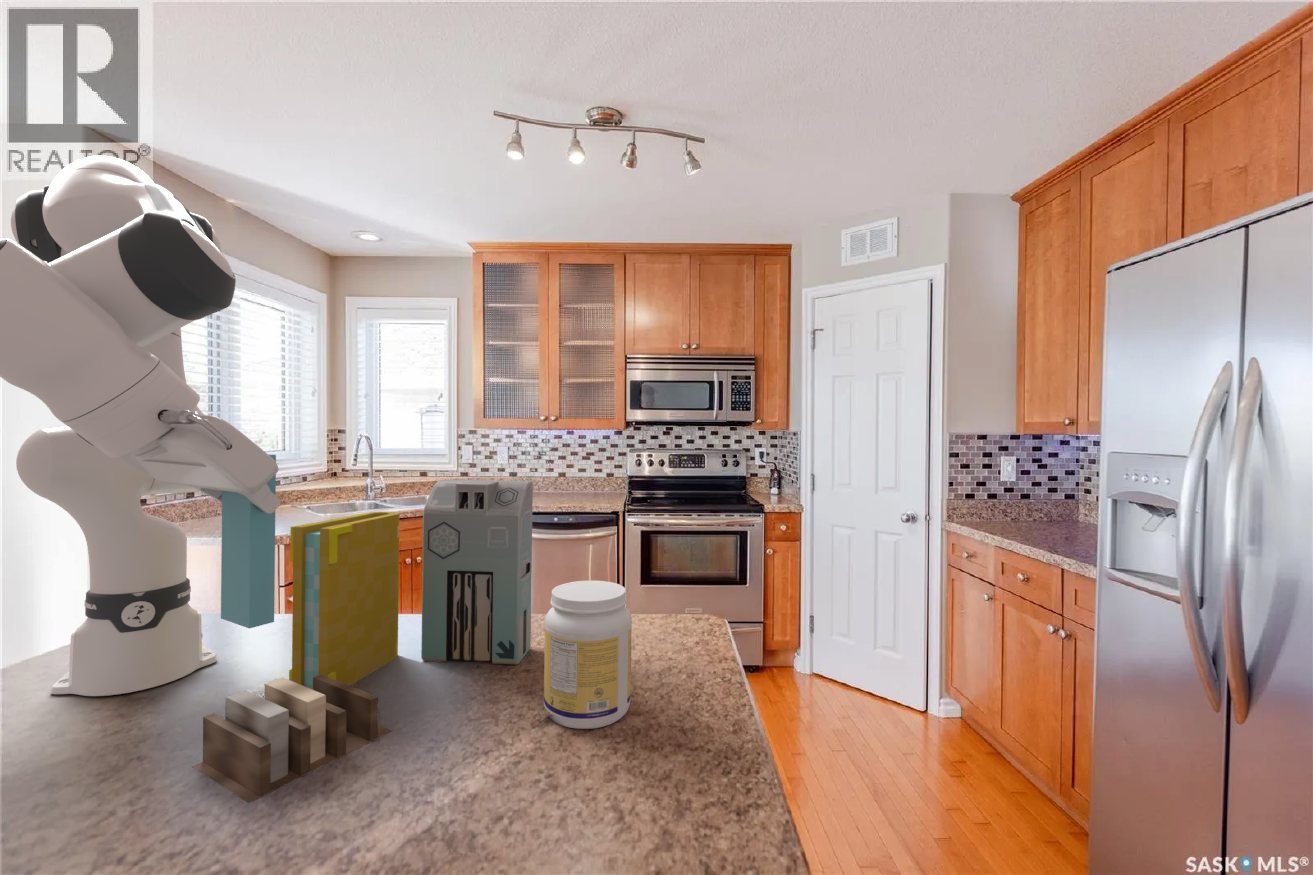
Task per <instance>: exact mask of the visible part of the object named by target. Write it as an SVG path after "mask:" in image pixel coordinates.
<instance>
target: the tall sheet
mask: <svg viewBox="0 0 1313 875" xmlns="http://www.w3.org/2000/svg"><path fill="white" fill-rule="evenodd" d="M267 454H268V455H269V456H270V457H272V458H273V459H274V461H275V462H276V463H277V454H273V453H272V454H271V453H267ZM276 477H277V473H276V474H275V475H274V476H273V477H272V478H271V479H270V480H269V481H268V482H267V485H268V487H269V488H270V490H271V492H272V493H273V494H274V495H276V489H277V488H276V486H277V485H276V484H277V478H276ZM276 496H277V495H276ZM250 503H251V501H250V500H249V499H248V498H247V497H246V496H245V495H241V494H240V493H238V492H230V491H222V504H221V552H220V556H221V565H220V566H221V569H220V570H221V571H220V572H221V573H220V574H221V575H220V578H221V579H220V584H221V585H220V619H221V620H225V621H227V622H230V623H233V624H235V625H238V626H241V627H245V628H246V629H253V628H257V627H261V626H264V625H269V624H272V623H274V622H275V592H276V591H275V588H276V586H275V585H276V584H275V579H276V578H275V577H276V576H275V574H276V573H275V571H276V569H275V568H276V560H275V559H276V510H275V511H274V512H273V513H264V512H260V511H259V510H258V509H257V508H255V507H254V506H253V505H251V504H250Z"/></svg>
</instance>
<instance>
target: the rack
mask: <svg viewBox="0 0 1313 875" xmlns="http://www.w3.org/2000/svg"><path fill="white" fill-rule="evenodd" d="M313 690H314V691H317V692H319V693H322V694H324V695H326V727H325V757H323V758H321V759H319V760H317V761H315V762H313V763H311V764H310V750H311V726H310V725H308V724H306V723H303V722H301V721H299V720H297V719H295V718H293V717H291V716H289V732H288V775H286V776H284V777H282V778H280V779H278V780H276V781H274V782H272V783H270V782H271V743H270V742H268V741H266V740H264V739H262V738H260V737H258V736H256V735H254V734H252V733H251V732H249V731H247V730H245V729H243V728H241V727H239V726H237V725H235V724H233V723H232V722H230V721H228V720H226V719H225V718H224V717H222V716H220V715H218V714H216V713H214V712H213V713H210V714H208V715H205V716H203V717H202V719H203V720H202V723H203V725H202V761H201V762H199V763H196V764H194V765H192V766H191V767H192V768H194V769H195V770H197V771H198V772H200V773H201V774H203V775H204V776H206V777H207V778H209V779H211V780H212V781H214V782H215V783H216V784H218V785H220V786H221V787H222V788H224V789H226V790H228V791H229V792H231V793H232V794H234V795H235V796H237V797H238V798H240V799H241V800H243V801H245V802H246V803H248V804H249V803H252V802H253V801H256V800H258V799H259V798H261V797H262V798H263V797H264V796H266V795H267V794H270V793H272V792H273V791H276V790H278V789H279V788H282V787H283V786H285V785H288V784H289V783H292V782H294V781H295V780H298V779H299V778H300V779H301V777H303V776H305V775H307V774H310V773H312V772H314V771H316V770H317V769H319V768H321V767H324V766H326V765H327V764H329V763H331V762H333V761H335V760H337V759H338V760H339V758H341V757H343V756H346V755H347V754H349V753H352V752H353V751H355V750H357V749H360V748H361V747H364V746H365V745H367V744H370V743H371V742H373V741H375V740H377V739H379V738H382V737H384V736H385V735H387V734H389V733H391V732H393V729H390V728H388V727H386V726H383V725H380V724H379V696H377V695H375V694H372V693H369V692H367V691H364V690H363V689H362V690H361V689H360V688H356V687H354V686H352V685H350V686H349V685H347V684H344V683H341V682H339V681H336V680H334V679H331V678H328V677H326V676H323V675H318V676H315V677H313Z"/></svg>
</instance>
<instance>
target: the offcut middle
mask: <svg viewBox="0 0 1313 875" xmlns="http://www.w3.org/2000/svg"><path fill="white" fill-rule="evenodd" d="M263 697H264V699H266V700H268V701H270V702H273V703H275V704H277V705H279V706H281V707H284V708H286V709H288V710H289V716H291V717H293V718H295V719H297V720H299V721H301V722H303V723H306V724H308V725H310V726H311V750H310V764H311V763H313V762H315V761H317V760H319V759H321V758H323V757H325V727H326V695H324V694H322V693H319V692H317V691H314V690H312V689H310V688H307V687H305V686H302V685H300V684H297V683H295V682H293V681H290V680H289V678H288V679H287V678H285V677H283V676H282V677H279V678H277V679H274V680H272V681H268V682H265V683H264V696H263Z"/></svg>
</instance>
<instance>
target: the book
mask: <svg viewBox="0 0 1313 875" xmlns="http://www.w3.org/2000/svg"><path fill="white" fill-rule="evenodd" d="M289 556H290V560H289V561H291V562H292V630H291V631H292V633H291V634H292V636H291V637H292V640H291V644H292V647H291V648H292V649H291V651H292V652H291V669H288V680H290V681H293V682H295V683H297V684H300V685H302V686H305V687H307V688H310V689H312V690H313V677H315V676H318V675H323V676H326V677H328V678H331V679H334V680H336V681H339V682H341V683H344V684H347V685H349V686H352V685H353V684H355V683H357V682H358V681H360V680H361V679H363V678H366V676H368V675H369V674H372V673H373V672H375V671H377V670H379V669H380V668H381V667H383V666H385V665H387V664H388V663H390V662H392V661H393V660H395V659H397V657H398V656H399V653H398V652H399V586H400V585H399V579H400V578H399V577H400V576H399V575H400V572H399V571H400V512H399V511H371V512H364V513H360V514H353V515H348V516H344V517H337V518H331V519H327V520H323V521H321V520H320V521H317V522H309V523H304V524H298V525H293V526H290V555H289Z"/></svg>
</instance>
